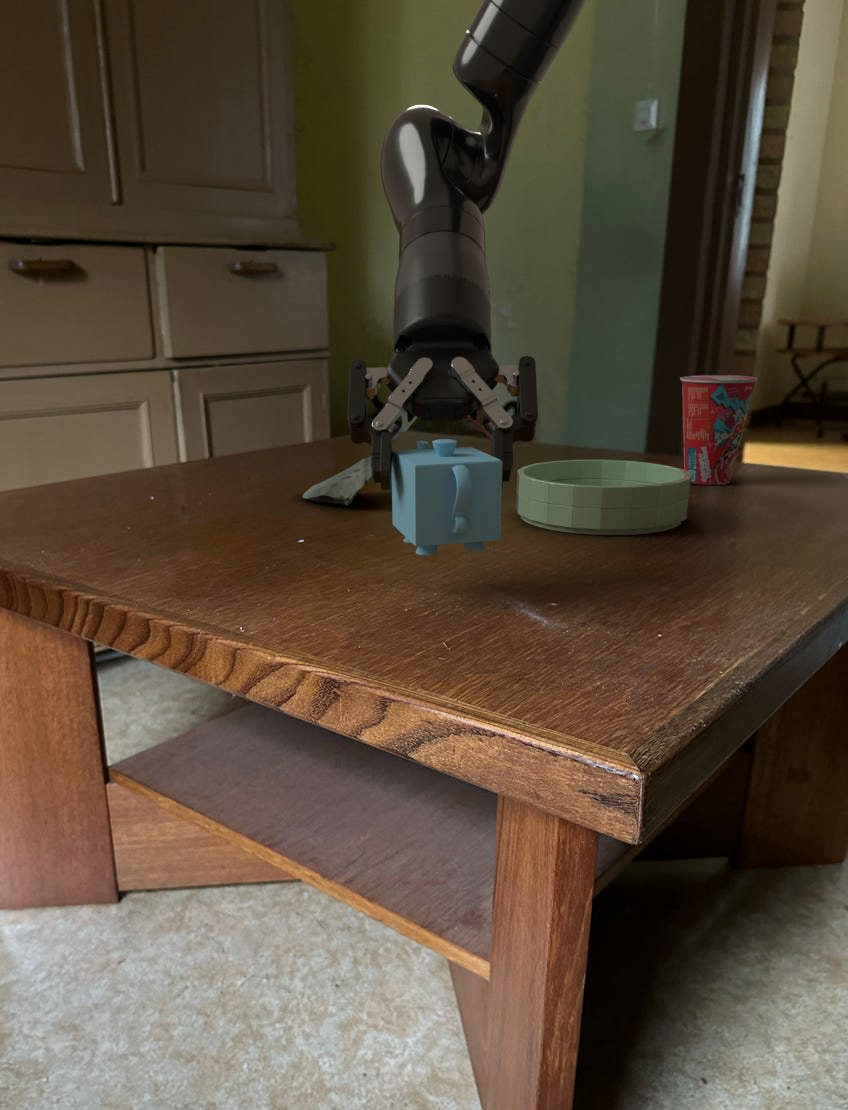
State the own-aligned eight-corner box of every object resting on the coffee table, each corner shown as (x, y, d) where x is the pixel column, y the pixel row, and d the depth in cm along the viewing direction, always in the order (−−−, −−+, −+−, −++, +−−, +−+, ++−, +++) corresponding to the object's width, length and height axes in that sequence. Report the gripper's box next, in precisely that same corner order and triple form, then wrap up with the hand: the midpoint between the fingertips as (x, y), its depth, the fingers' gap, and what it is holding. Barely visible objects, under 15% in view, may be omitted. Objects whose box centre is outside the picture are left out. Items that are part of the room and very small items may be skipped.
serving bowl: (664, 501, 98) (668, 459, 96) (706, 536, 82) (712, 486, 81) (510, 501, 99) (511, 460, 97) (523, 536, 83) (525, 487, 82)
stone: (304, 523, 95) (395, 492, 95) (291, 486, 94) (383, 455, 94) (309, 512, 105) (391, 484, 105) (297, 479, 105) (380, 451, 104)
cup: (757, 487, 105) (770, 378, 101) (683, 488, 105) (694, 380, 101) (727, 473, 113) (738, 373, 109) (658, 474, 114) (668, 374, 110)
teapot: (383, 527, 72) (381, 430, 70) (457, 522, 73) (457, 426, 71) (421, 565, 61) (420, 452, 59) (507, 558, 62) (510, 447, 60)
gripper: (346, 274, 68) (335, 452, 61) (539, 268, 67) (550, 449, 60) (354, 345, 75) (345, 513, 68) (530, 341, 74) (539, 512, 67)
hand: (441, 483), depth 64 cm, fingers closed on teapot, 7 cm apart
